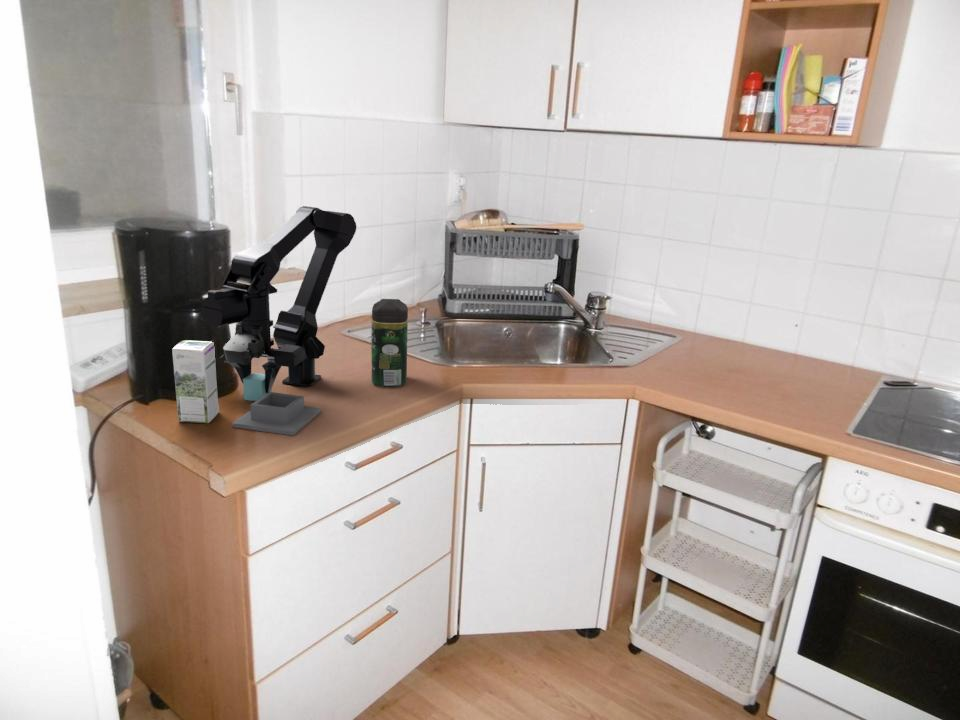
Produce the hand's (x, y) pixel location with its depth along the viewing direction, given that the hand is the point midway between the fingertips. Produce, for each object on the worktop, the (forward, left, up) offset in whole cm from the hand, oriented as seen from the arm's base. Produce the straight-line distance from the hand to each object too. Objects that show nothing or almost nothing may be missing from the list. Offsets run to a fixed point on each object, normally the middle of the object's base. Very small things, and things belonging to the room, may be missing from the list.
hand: (258, 391), depth 138 cm
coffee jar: (-18, +22, -1) cm, 28 cm away
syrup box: (+13, -5, -1) cm, 14 cm away
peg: (0, 0, -1) cm, 1 cm away
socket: (+9, +9, -1) cm, 13 cm away
